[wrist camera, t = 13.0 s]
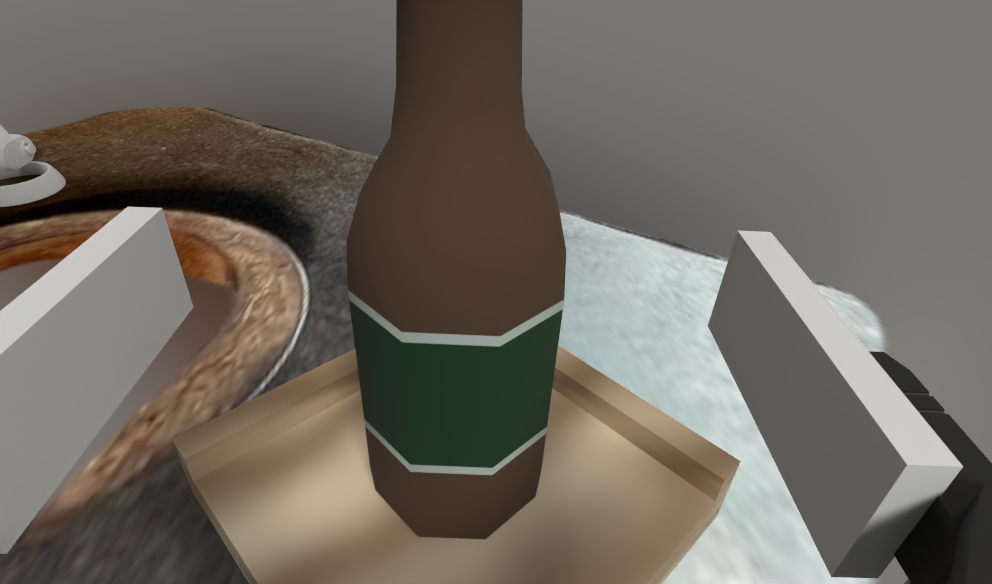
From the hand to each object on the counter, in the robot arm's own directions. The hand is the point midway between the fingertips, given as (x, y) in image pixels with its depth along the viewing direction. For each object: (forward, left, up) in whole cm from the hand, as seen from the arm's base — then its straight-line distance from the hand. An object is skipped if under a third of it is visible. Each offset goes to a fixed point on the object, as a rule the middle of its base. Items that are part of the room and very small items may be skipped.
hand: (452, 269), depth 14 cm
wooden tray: (-4, +4, -17) cm, 18 cm away
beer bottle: (-4, +4, -15) cm, 16 cm away
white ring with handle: (-58, -4, -17) cm, 61 cm away
